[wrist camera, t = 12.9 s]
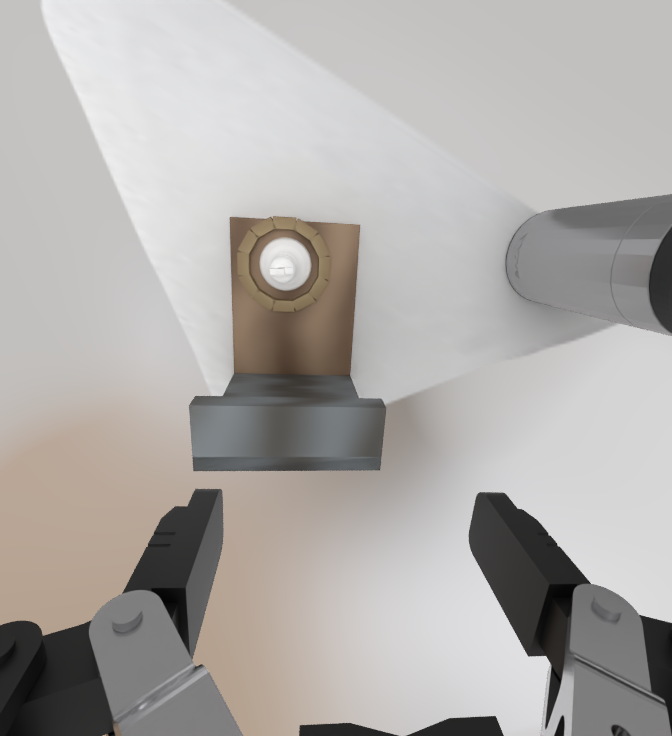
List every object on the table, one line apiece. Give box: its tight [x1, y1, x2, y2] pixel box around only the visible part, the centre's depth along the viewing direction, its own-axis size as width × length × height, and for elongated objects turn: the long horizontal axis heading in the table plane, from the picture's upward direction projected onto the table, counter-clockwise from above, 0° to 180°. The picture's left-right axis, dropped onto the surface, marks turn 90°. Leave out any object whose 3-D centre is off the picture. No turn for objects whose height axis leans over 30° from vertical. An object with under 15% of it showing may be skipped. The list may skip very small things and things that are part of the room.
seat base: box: [189, 216, 386, 471], centre depth 31 cm, size 12×16×18 cm
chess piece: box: [259, 237, 312, 291], centre depth 32 cm, size 5×5×10 cm
